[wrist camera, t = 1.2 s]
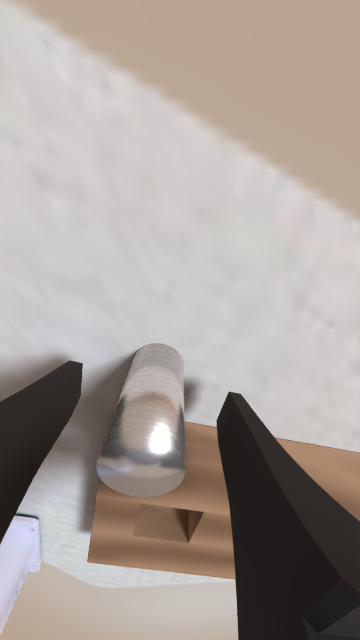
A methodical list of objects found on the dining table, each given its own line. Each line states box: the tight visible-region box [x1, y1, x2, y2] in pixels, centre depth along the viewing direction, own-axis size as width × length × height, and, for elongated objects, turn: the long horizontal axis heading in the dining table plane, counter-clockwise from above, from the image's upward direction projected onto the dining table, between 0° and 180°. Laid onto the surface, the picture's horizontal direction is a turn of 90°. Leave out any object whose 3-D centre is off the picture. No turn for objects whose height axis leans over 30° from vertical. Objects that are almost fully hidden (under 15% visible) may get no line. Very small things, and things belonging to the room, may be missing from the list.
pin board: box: [87, 422, 360, 579], centre depth 17 cm, size 14×20×2 cm
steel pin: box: [96, 344, 185, 497], centre depth 10 cm, size 3×3×6 cm
